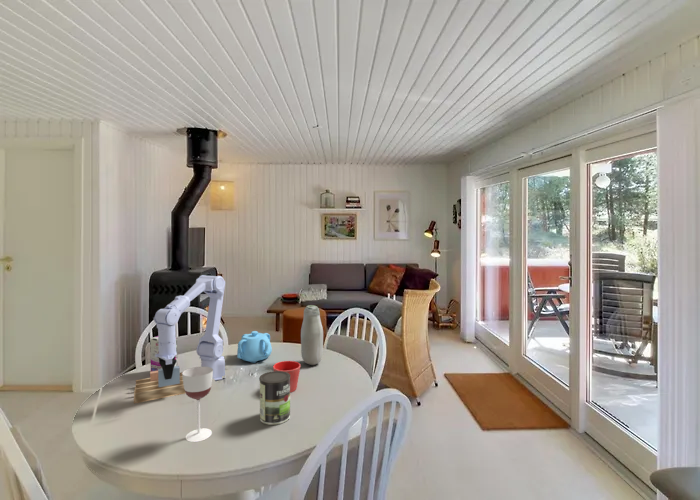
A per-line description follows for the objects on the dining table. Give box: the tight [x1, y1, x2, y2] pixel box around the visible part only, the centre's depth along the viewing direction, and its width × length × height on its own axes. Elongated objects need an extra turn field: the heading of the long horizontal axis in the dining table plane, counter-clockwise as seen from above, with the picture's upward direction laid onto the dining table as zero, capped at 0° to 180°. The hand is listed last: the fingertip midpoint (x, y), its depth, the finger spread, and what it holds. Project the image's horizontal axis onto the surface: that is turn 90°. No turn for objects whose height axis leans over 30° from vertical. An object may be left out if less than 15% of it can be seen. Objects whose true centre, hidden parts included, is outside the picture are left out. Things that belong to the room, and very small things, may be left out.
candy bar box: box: [149, 335, 178, 372], centre depth 159 cm, size 11×5×16 cm, turn 68°
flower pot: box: [272, 360, 301, 394], centre depth 145 cm, size 11×11×10 cm
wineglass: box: [182, 366, 213, 443], centre depth 112 cm, size 8×9×20 cm
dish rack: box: [133, 371, 186, 404], centre depth 142 cm, size 18×16×4 cm
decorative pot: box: [236, 330, 273, 364], centre depth 180 cm, size 16×16×14 cm
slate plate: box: [158, 365, 181, 387], centre depth 135 cm, size 7×2×6 cm, turn 120°
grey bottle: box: [300, 304, 324, 366], centre depth 173 cm, size 10×10×28 cm
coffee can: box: [258, 370, 291, 426], centre depth 123 cm, size 10×10×14 cm
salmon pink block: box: [149, 371, 158, 382], centre depth 146 cm, size 7×2×6 cm, turn 120°
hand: (168, 377), depth 135 cm, fingers closed on slate plate, 2 cm apart
